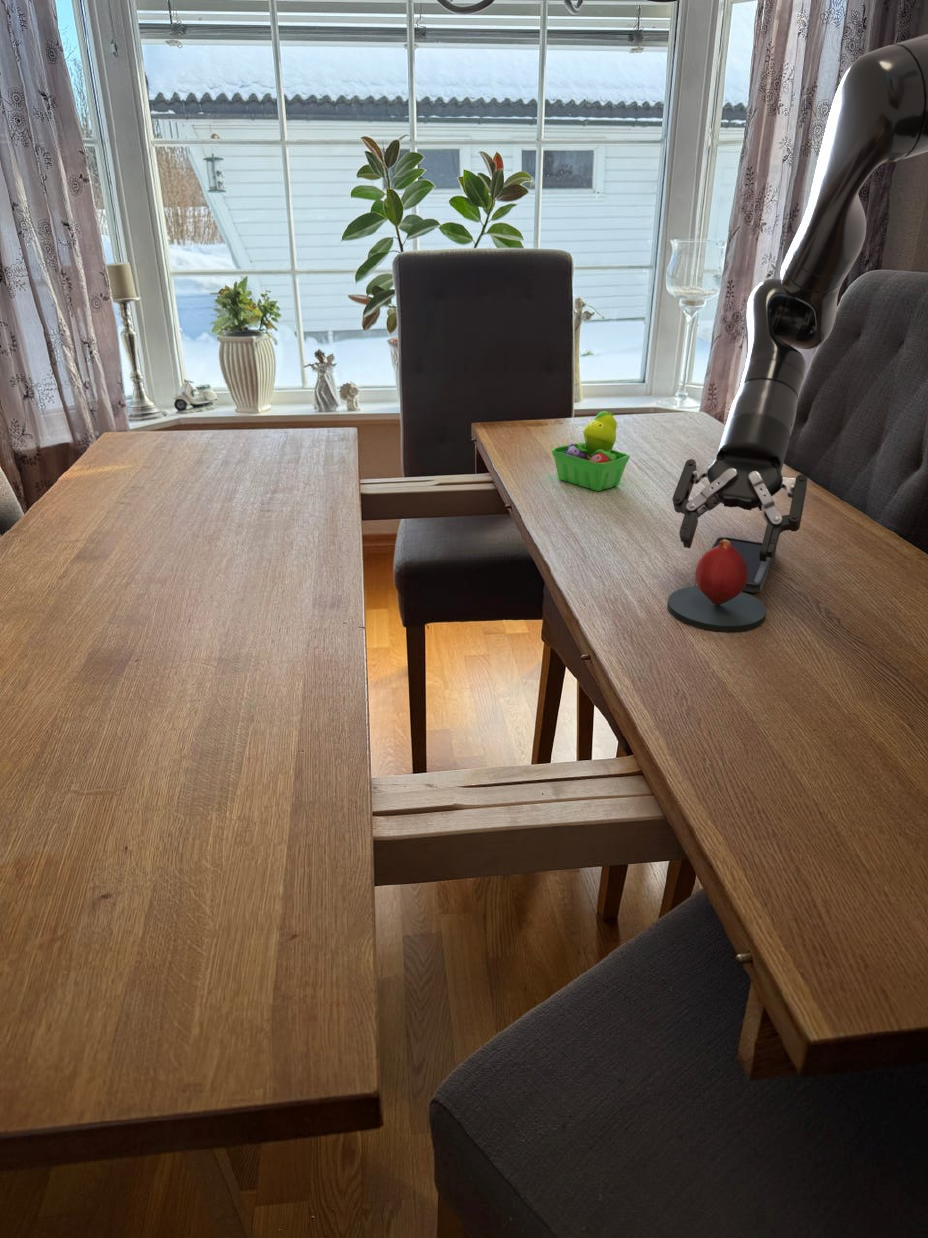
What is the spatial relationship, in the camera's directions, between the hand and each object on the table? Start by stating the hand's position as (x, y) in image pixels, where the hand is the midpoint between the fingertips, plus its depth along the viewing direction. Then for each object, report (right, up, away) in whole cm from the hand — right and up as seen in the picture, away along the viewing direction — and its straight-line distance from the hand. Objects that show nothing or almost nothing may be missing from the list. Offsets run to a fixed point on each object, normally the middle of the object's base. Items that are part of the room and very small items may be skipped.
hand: (724, 551), depth 100 cm
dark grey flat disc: (0, -7, +2) cm, 7 cm away
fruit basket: (-8, +15, +47) cm, 50 cm away
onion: (0, -6, +2) cm, 7 cm away
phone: (+6, -1, +14) cm, 15 cm away
